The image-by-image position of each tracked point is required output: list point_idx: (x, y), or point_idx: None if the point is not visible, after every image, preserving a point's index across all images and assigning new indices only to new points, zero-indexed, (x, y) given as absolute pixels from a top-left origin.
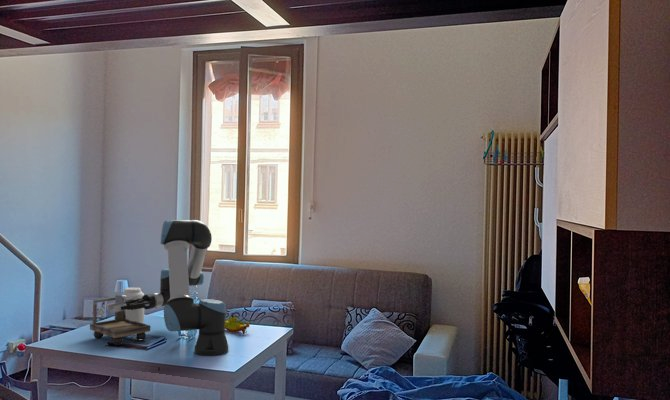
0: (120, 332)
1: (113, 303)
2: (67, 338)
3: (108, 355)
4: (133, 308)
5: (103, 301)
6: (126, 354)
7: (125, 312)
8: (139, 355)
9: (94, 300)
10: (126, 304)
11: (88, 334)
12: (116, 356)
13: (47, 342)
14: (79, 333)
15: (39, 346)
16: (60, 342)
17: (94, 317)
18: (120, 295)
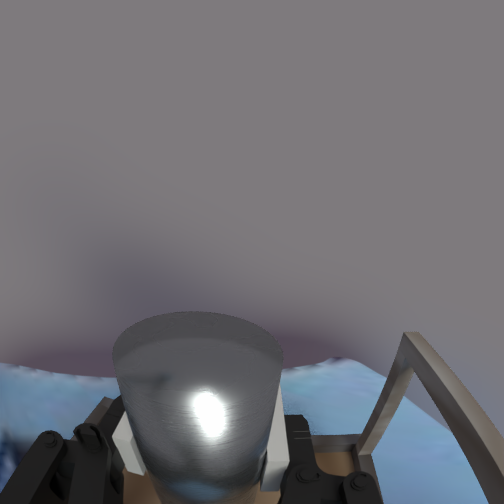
0: (92, 416)
1: (279, 406)
2: (388, 425)
3: (89, 382)
4: (62, 483)
5: (426, 388)
6: (46, 395)
7: (156, 493)
8: (11, 391)
9: (404, 332)
10: (113, 435)
11: (412, 484)
12: (64, 380)
13: (368, 384)
14: (441, 461)
15: (336, 365)
16: (348, 401)
17: (368, 425)
18: (201, 345)
